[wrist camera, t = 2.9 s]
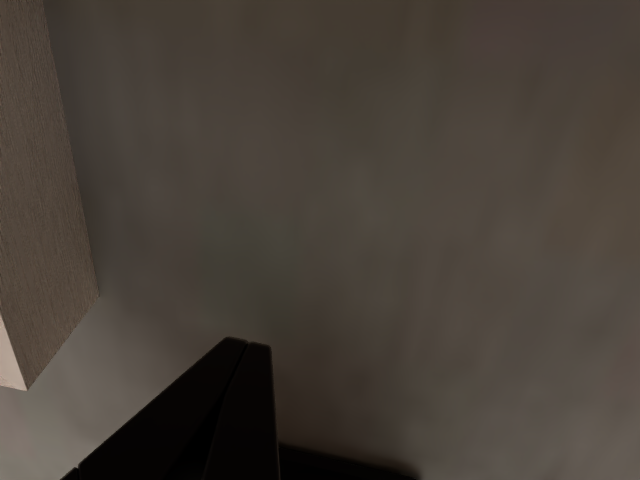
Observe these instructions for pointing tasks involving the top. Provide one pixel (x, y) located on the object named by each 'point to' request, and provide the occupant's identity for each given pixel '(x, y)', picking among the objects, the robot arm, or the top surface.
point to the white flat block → (36, 204)
